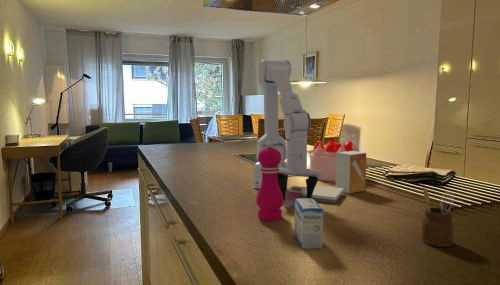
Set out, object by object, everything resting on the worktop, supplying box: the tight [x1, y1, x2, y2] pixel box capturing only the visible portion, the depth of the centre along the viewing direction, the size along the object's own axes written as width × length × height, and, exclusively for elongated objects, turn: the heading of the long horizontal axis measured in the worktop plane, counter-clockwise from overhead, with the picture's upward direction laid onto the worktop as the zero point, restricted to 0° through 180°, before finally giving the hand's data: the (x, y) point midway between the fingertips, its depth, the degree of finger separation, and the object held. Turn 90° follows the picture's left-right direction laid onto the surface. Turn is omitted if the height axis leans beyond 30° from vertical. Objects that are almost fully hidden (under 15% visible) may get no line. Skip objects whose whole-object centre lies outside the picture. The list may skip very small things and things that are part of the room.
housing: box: [284, 185, 307, 210], centre depth 105 cm, size 4×7×6 cm, turn 154°
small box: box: [335, 151, 367, 194], centre depth 121 cm, size 8×6×13 cm
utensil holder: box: [421, 186, 454, 248], centre depth 76 cm, size 6×6×12 cm
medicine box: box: [293, 198, 324, 250], centre depth 77 cm, size 8×4×9 cm, turn 5°
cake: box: [309, 139, 360, 183], centre depth 143 cm, size 20×20×14 cm
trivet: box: [305, 185, 344, 204], centre depth 114 cm, size 12×12×2 cm
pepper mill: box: [255, 142, 285, 222], centre depth 94 cm, size 7×7×20 cm
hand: (296, 200), depth 105 cm, fingers open, 7 cm apart
